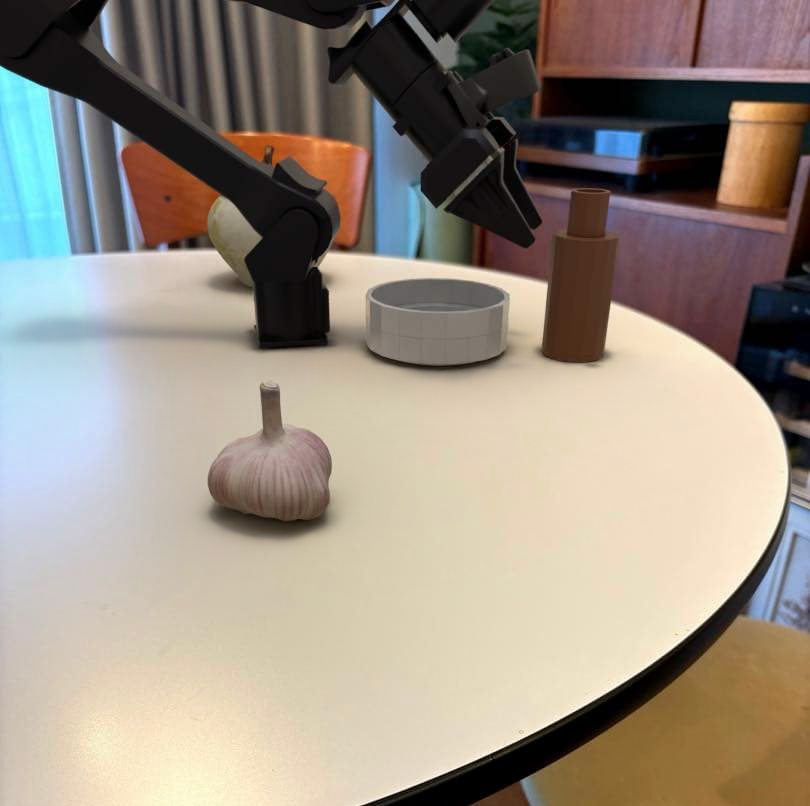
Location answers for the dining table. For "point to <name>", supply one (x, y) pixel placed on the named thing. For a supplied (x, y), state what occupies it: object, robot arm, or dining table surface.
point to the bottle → (580, 280)
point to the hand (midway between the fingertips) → (535, 234)
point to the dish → (437, 321)
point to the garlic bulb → (273, 468)
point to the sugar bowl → (236, 232)
